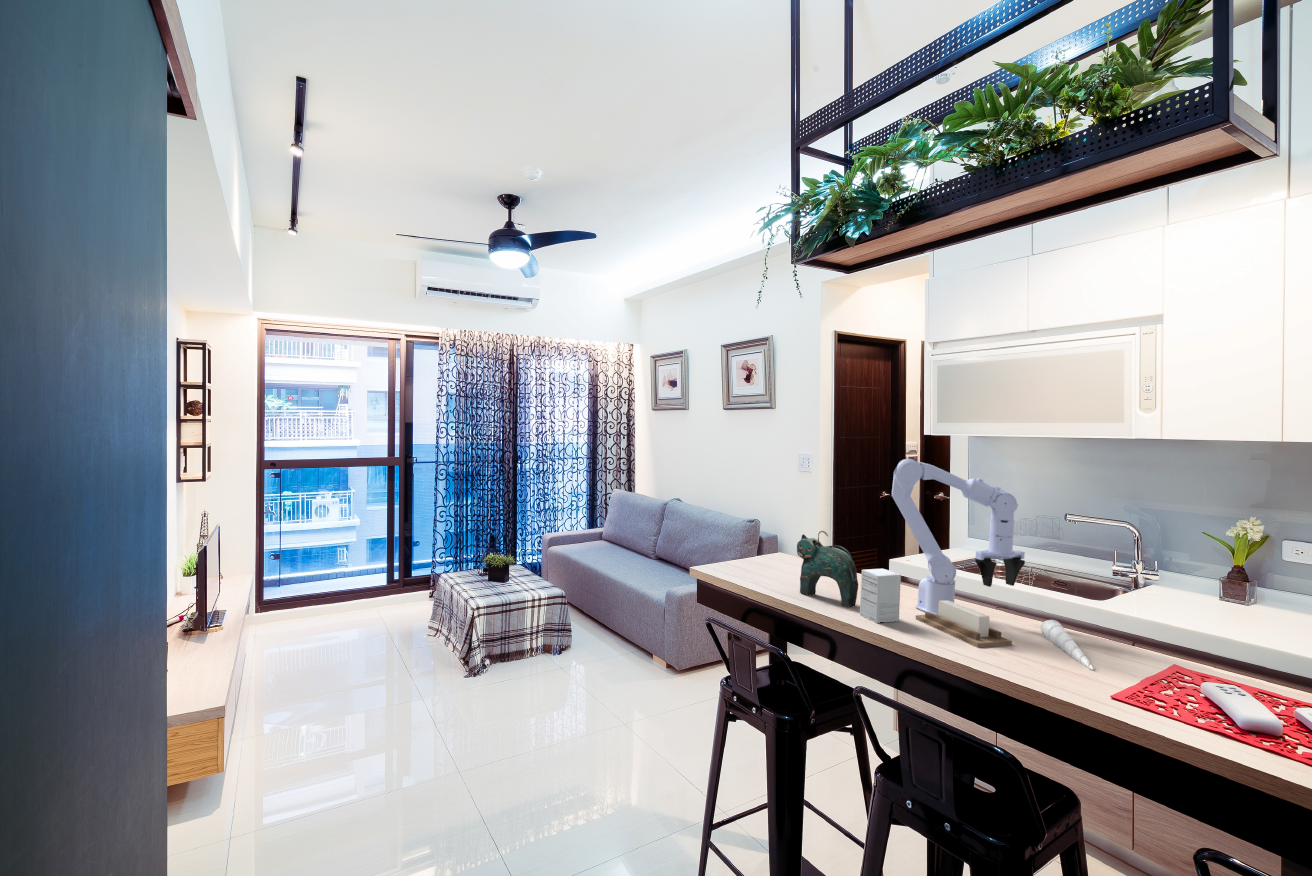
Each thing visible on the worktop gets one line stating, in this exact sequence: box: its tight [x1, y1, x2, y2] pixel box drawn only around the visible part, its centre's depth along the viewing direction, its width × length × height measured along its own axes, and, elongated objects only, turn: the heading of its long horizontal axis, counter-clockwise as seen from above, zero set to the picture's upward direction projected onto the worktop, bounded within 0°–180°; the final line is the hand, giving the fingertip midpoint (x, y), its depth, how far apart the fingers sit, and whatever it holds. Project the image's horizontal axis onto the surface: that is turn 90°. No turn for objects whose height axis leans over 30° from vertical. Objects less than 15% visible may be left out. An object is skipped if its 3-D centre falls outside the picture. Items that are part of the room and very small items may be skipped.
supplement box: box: [859, 568, 902, 624], centre depth 171 cm, size 7×7×13 cm
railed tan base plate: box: [915, 611, 1013, 648], centre depth 163 cm, size 22×10×2 cm, turn 16°
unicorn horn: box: [1040, 619, 1095, 671], centre depth 150 cm, size 5×24×5 cm, turn 165°
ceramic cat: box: [796, 530, 859, 608], centre depth 188 cm, size 20×6×20 cm, turn 37°
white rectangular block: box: [938, 600, 990, 637], centre depth 162 cm, size 14×3×5 cm, turn 16°
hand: (998, 585), depth 174 cm, fingers open, 7 cm apart
